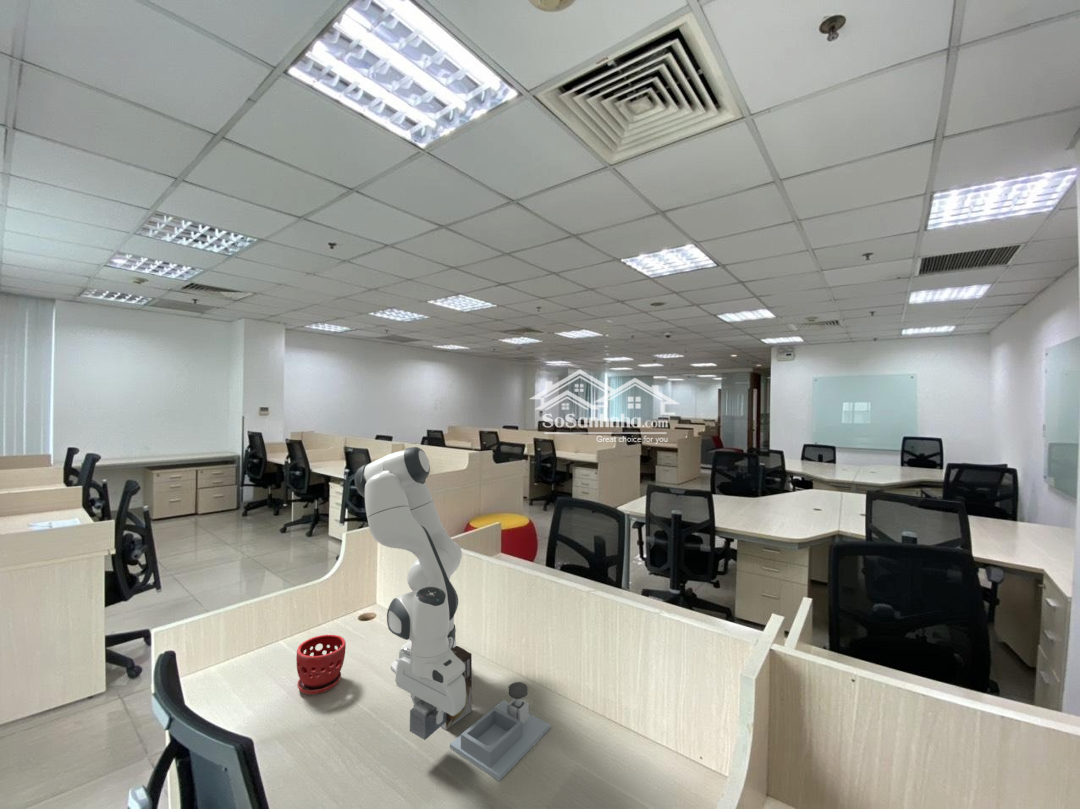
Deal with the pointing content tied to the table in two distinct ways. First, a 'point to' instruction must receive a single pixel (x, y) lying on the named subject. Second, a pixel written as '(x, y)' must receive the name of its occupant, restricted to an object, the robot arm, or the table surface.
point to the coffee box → (467, 675)
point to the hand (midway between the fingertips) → (428, 716)
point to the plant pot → (320, 664)
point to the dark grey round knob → (518, 693)
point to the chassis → (500, 738)
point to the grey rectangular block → (424, 719)
